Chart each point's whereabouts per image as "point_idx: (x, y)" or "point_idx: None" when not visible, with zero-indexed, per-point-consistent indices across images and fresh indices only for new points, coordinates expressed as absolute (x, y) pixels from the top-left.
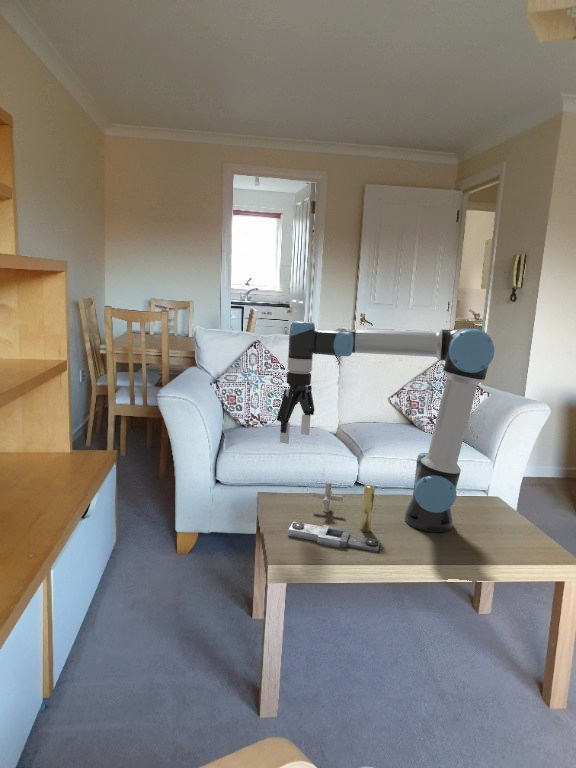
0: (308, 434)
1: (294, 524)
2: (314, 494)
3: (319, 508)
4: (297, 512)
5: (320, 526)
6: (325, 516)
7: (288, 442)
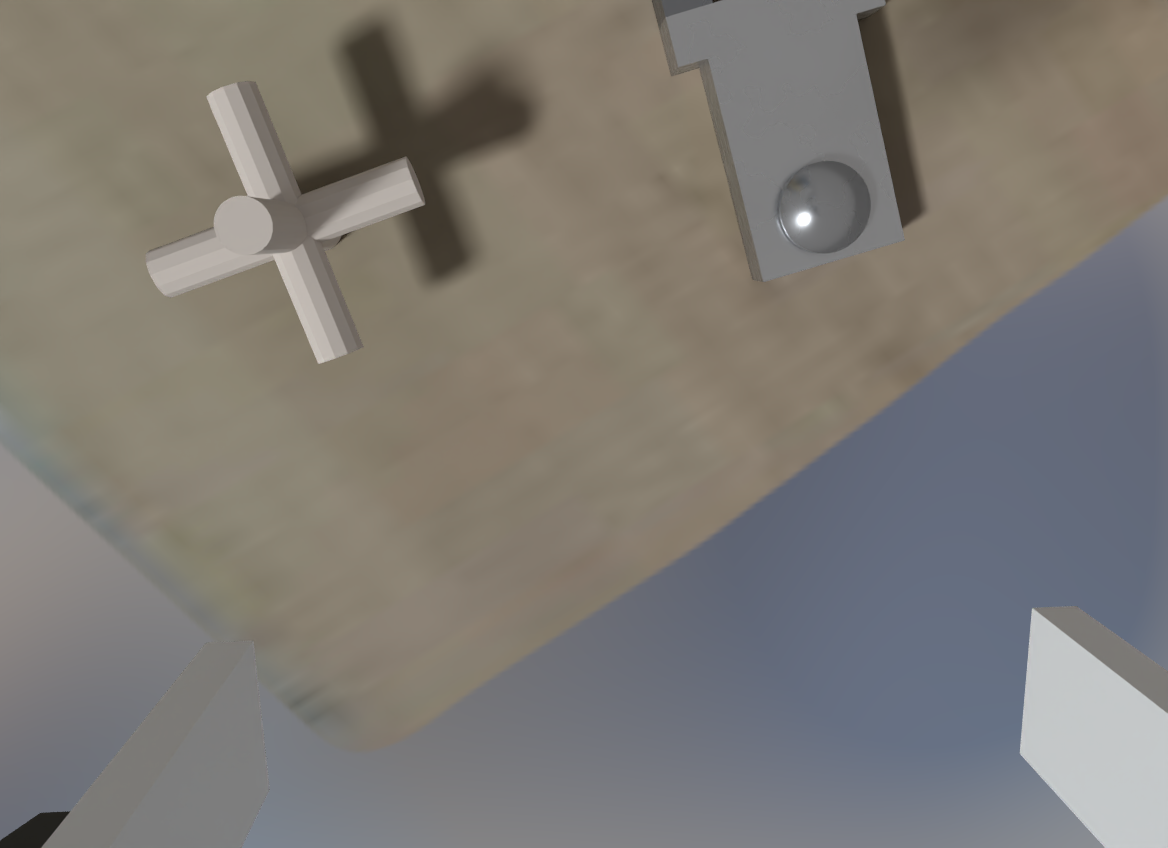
0: (235, 646)
1: (840, 232)
2: (352, 332)
3: None
4: (498, 390)
5: (715, 71)
6: None
7: (1049, 614)
